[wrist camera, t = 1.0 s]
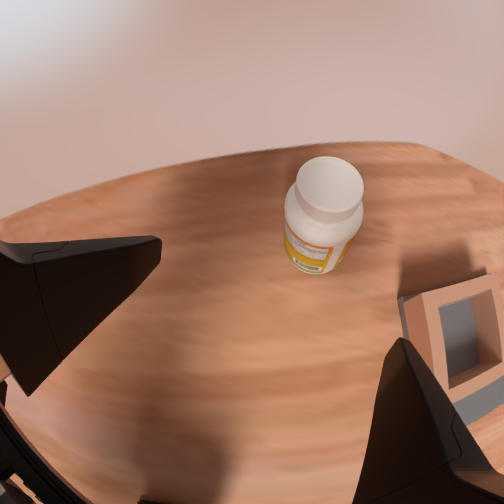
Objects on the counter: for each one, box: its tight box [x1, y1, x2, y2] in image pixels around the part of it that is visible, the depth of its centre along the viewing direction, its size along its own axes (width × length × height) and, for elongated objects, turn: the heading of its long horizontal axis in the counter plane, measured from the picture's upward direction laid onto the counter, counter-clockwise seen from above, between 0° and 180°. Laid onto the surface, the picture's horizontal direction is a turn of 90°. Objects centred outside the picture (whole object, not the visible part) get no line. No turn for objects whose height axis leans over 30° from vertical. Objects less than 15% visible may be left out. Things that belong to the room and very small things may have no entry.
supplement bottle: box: [284, 156, 364, 274], centre depth 19 cm, size 5×5×10 cm
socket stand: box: [397, 272, 504, 426], centre depth 16 cm, size 14×12×4 cm
